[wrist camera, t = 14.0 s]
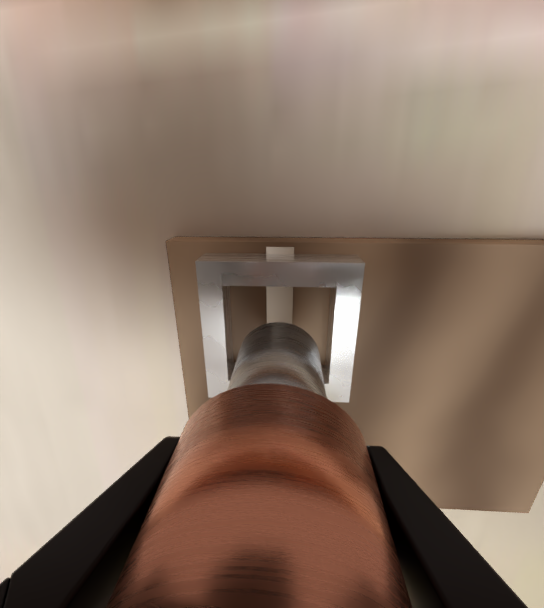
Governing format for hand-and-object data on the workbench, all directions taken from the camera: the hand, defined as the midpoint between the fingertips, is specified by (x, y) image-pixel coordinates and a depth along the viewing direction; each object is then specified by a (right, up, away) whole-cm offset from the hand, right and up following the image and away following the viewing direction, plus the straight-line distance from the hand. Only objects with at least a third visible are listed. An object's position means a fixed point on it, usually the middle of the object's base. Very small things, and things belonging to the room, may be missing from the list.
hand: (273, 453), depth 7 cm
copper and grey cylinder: (0, +2, +4) cm, 4 cm away
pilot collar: (0, +3, +7) cm, 8 cm away
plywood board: (+5, -1, +9) cm, 11 cm away
